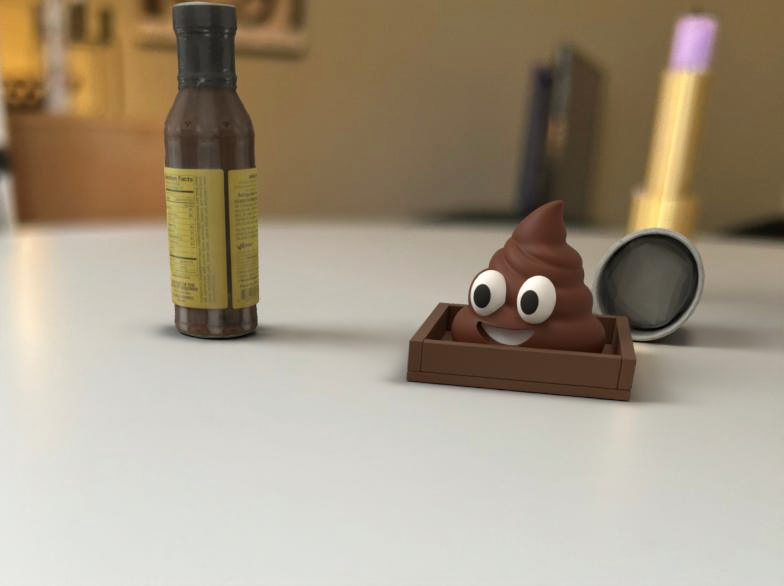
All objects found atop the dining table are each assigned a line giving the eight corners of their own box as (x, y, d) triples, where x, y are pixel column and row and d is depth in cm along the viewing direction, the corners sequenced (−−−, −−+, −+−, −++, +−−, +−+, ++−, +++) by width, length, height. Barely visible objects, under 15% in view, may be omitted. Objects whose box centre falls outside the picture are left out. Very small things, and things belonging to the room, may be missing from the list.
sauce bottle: (244, 321, 75) (244, 10, 66) (270, 338, 70) (275, 4, 61) (160, 324, 73) (149, 4, 64) (181, 342, 68) (172, -3, 59)
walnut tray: (621, 351, 70) (627, 316, 69) (629, 401, 58) (636, 359, 57) (436, 336, 72) (439, 302, 71) (406, 380, 60) (409, 340, 59)
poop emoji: (619, 356, 66) (647, 201, 61) (572, 379, 59) (599, 210, 55) (481, 334, 70) (497, 190, 66) (424, 354, 64) (438, 196, 60)
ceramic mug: (690, 326, 79) (710, 221, 75) (692, 346, 72) (714, 231, 68) (554, 316, 82) (567, 215, 78) (543, 334, 75) (557, 224, 71)
